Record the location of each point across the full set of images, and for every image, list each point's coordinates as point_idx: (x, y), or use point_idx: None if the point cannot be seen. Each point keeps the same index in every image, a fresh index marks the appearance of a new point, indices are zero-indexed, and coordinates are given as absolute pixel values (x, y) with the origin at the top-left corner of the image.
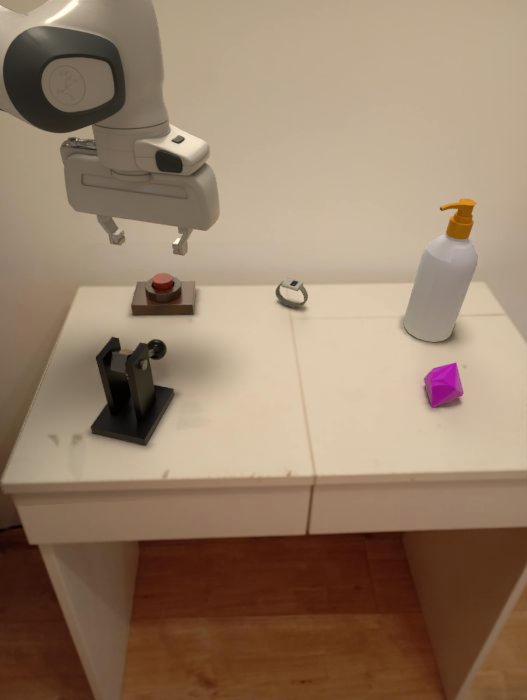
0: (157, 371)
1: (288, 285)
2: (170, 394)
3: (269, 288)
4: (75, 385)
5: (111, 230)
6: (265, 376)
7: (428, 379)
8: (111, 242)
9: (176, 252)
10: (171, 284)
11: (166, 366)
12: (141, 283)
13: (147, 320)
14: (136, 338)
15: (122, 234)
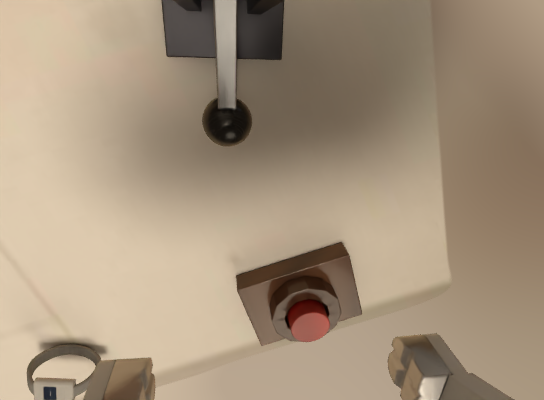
0: None
1: (57, 385)
2: (165, 37)
3: None
4: (374, 27)
5: (460, 393)
6: (15, 159)
7: None
8: (435, 338)
9: (128, 366)
10: (289, 319)
11: None
12: (352, 312)
13: (310, 237)
14: (311, 187)
15: (406, 389)
